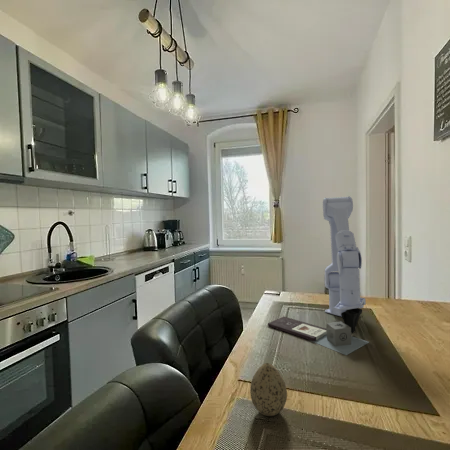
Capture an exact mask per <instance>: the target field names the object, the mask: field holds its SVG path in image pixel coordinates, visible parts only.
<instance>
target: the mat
mask: <svg viewBox="0 0 450 450" xmlns="http://www.w3.org/2000/svg"><path fill="white" fill-rule="evenodd" d="M309 342H312V343H315V344H316V345H319V346H321V347H324V348H327V349H329V350H332V351H334V352H337V353H340V354H342V355H344V356H348V355H349V354H351V353H354V352H355V351H357V350H358V349H360V348H362V347H365V345H368V344H369V343H370V341H367V340H364V339H361V338H358V337H355V336H354V335H353V336H352V335H351V345H343V346H335V345H333V344H332V343H331V342H330V341H328V340H327V334H326V335H324V336H322V337H321V338H319V339H317V340H315V341H311V340H309Z"/></svg>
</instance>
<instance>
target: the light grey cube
mask: <svg viewBox="0 0 450 450" xmlns="http://www.w3.org/2000/svg"><path fill="white" fill-rule="evenodd" d="M325 324H326V325H325V326H326V329H327V340H328V341H330V342H331V343H332V344H333V345H335V346H343V345H351V336H352V333H351V327H349V326H348V325H346V324H345V323H344V321H341V320H340V321H333V322H326V323H325Z"/></svg>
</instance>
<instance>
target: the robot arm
mask: <svg viewBox="0 0 450 450" xmlns="http://www.w3.org/2000/svg"><path fill="white" fill-rule="evenodd" d="M353 209H354V202H353V198H352V197H351V195H350V196H349V195H347V196H340V197H324V198H323V199H322V213H323V214H322V215H323V220H325V221H328V223H329V228H330V229H329V230H330V231H329V232H330V249H331V251H330V252H331V253H330V254H331V255H330V256H331V263H330V264H329V265H327V266H326V267H325V269H324V274H323V275H324V280H323V281H324V286H325V288H326V289H328V302H329V303H328V306H329V307H328V309H325V310H324V313H328V314H331V315H335V316H338V317H341V319H342V320H343V323H345V324H346V325H348V326H349V327H351V334H354V333H355V332H356V330H357V326H358V322H359V319H360V317H361V316H362V313H363V308H364V307H365V305H366V298H365V297H361V287H360V284H361V283H360V279H361V278H360V270H361V269H362V264H363V263H362V261H363V260H362V254H361V251H360V249H359V247H357V244H356V238H355V235H354V232H353V231H351V230H350V225H349V224H350V223H349V218H350V217H351V215H352V212H353Z"/></svg>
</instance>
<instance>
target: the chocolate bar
mask: <svg viewBox="0 0 450 450" xmlns="http://www.w3.org/2000/svg"><path fill="white" fill-rule="evenodd" d="M267 327H269V328H273V329H276V330H278V331H282V332H284V333H287V334H290V335H293V336H297V337H299V338H303V339H305V340H308V341H310V340H311V341H310V342H312V341H315V340H317V339H319V338H321V337H322V336H324V335H326V334H327V328H325V327H321V326H318V325H315V324H311V323H308V322H304V321H301V320H298V319H294V318H290V317H288V316H287V317H286V316H282V317H279V318H277V319H274V320H273V321H269V322H268V323H267Z"/></svg>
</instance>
